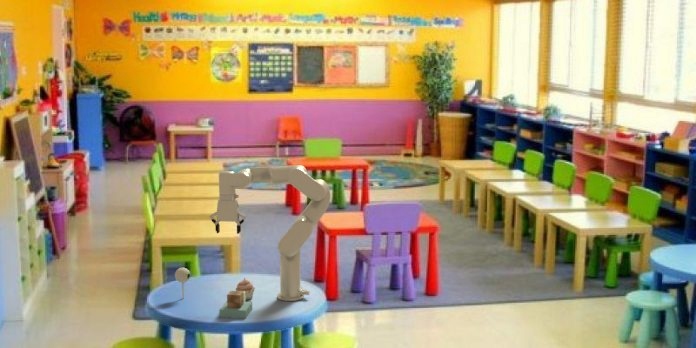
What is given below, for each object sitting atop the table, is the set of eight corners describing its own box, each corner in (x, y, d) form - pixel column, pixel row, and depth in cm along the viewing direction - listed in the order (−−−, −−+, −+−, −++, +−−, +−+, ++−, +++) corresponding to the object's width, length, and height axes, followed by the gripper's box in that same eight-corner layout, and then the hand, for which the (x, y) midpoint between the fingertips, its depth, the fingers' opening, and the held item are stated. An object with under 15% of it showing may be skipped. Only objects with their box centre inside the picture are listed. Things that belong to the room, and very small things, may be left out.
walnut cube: (243, 304, 399) (243, 291, 398) (240, 308, 394) (240, 295, 393) (230, 303, 400) (230, 290, 399) (227, 307, 394) (226, 294, 393)
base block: (252, 310, 403) (252, 302, 402) (246, 319, 391) (245, 310, 390) (226, 309, 404) (226, 301, 404) (219, 318, 393) (219, 309, 392)
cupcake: (238, 294, 425) (238, 274, 423) (257, 295, 423) (257, 275, 421) (232, 300, 416) (232, 280, 414) (252, 301, 414) (251, 281, 412)
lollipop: (186, 301, 414) (185, 270, 412) (172, 299, 417) (171, 269, 414) (193, 297, 421) (192, 266, 418) (180, 295, 423) (179, 265, 421)
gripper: (247, 196, 417) (247, 231, 419) (211, 195, 418) (212, 230, 421) (244, 199, 409) (244, 235, 412) (207, 198, 411) (208, 234, 414)
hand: (228, 232), depth 417 cm, fingers open, 9 cm apart
